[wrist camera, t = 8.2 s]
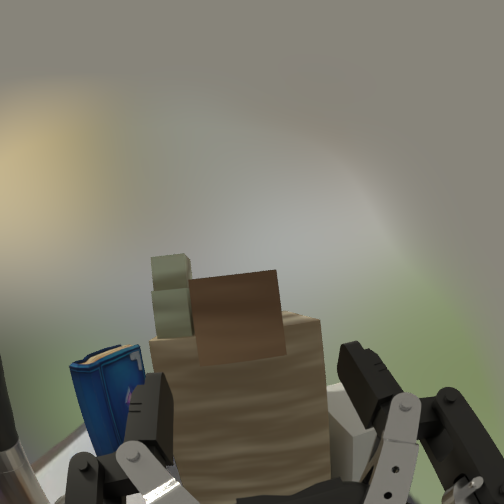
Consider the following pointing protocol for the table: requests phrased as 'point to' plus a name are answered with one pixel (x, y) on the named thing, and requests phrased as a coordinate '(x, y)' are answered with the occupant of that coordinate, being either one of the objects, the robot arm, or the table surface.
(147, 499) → the robot arm
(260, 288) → the walnut block
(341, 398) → the grey rectangular block
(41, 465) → the table surface
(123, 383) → the book
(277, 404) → the birch rack
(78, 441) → the table surface
